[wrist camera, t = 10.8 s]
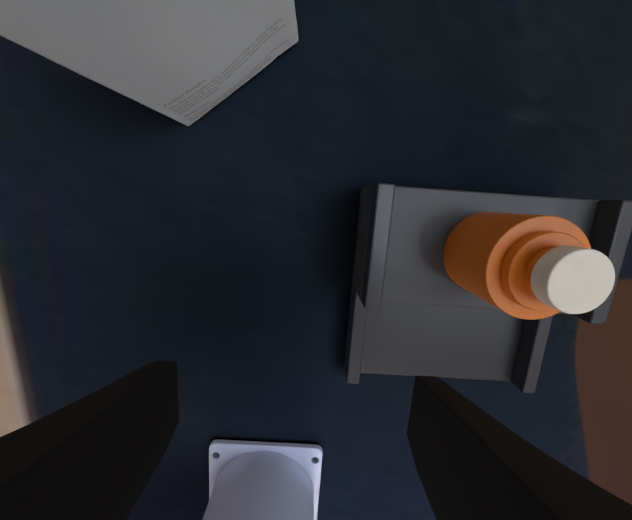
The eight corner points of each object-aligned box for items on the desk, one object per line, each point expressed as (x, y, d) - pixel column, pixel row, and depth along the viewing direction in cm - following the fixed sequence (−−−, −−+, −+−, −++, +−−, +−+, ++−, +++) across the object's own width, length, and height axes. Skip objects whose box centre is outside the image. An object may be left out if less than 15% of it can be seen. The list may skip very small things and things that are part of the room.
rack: (516, 377, 20) (576, 430, 16) (343, 367, 20) (353, 418, 15) (555, 201, 18) (640, 201, 13) (360, 187, 18) (378, 182, 13)
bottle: (514, 293, 15) (626, 344, 10) (437, 288, 15) (506, 337, 10) (531, 214, 15) (662, 222, 9) (449, 209, 14) (532, 214, 9)
